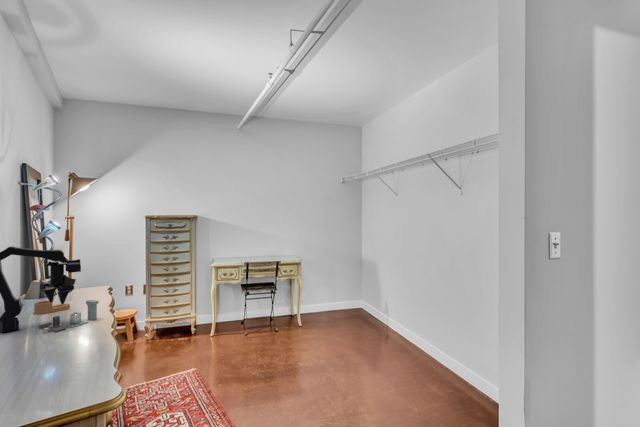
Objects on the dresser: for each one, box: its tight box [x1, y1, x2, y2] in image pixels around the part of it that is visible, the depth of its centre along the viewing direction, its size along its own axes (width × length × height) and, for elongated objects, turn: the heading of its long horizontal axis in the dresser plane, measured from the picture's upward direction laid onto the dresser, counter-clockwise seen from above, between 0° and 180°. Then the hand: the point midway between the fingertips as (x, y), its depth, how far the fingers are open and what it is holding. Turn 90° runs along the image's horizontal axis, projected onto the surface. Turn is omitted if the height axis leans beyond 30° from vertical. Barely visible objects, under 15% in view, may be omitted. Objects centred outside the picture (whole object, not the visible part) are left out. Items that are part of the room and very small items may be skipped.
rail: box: [38, 322, 67, 333], centre depth 171 cm, size 5×13×2 cm, turn 69°
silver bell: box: [69, 311, 82, 325], centre depth 180 cm, size 5×5×6 cm
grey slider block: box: [41, 315, 63, 332], centre depth 168 cm, size 8×4×6 cm, turn 159°
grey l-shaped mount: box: [63, 299, 99, 329], centre depth 182 cm, size 14×8×10 cm, turn 159°
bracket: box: [33, 300, 71, 316], centre depth 204 cm, size 18×8×7 cm, turn 157°
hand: (56, 303), depth 177 cm, fingers open, 9 cm apart
